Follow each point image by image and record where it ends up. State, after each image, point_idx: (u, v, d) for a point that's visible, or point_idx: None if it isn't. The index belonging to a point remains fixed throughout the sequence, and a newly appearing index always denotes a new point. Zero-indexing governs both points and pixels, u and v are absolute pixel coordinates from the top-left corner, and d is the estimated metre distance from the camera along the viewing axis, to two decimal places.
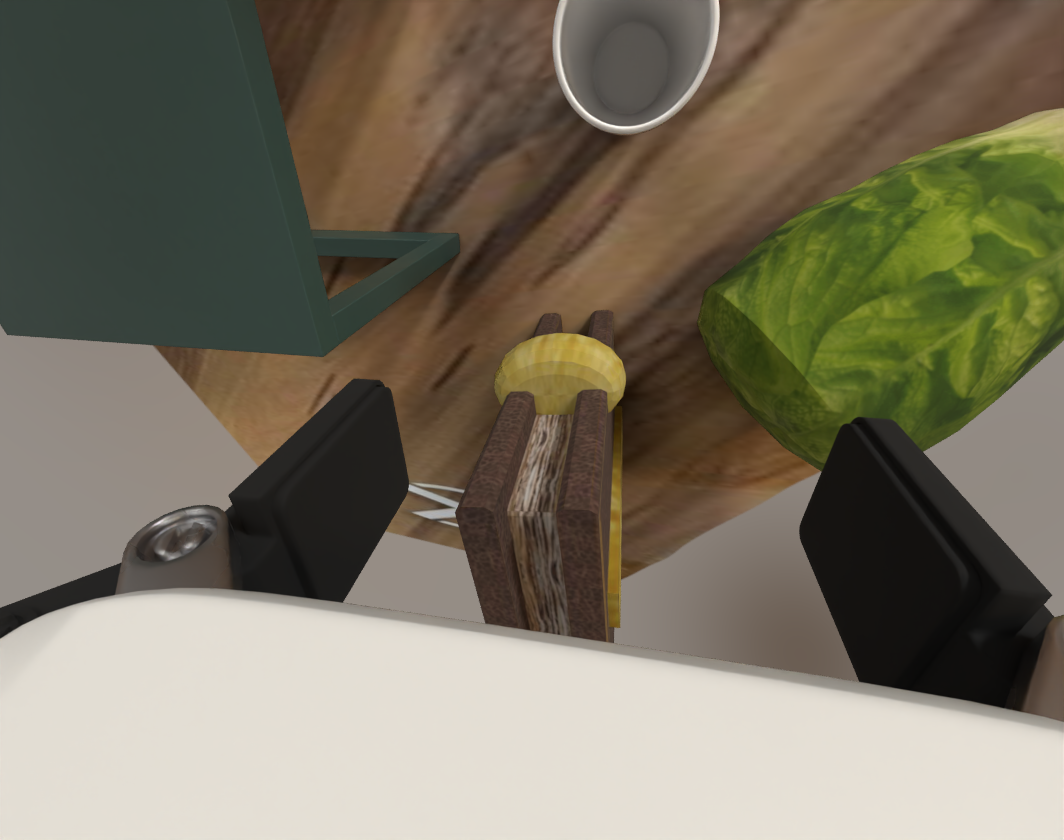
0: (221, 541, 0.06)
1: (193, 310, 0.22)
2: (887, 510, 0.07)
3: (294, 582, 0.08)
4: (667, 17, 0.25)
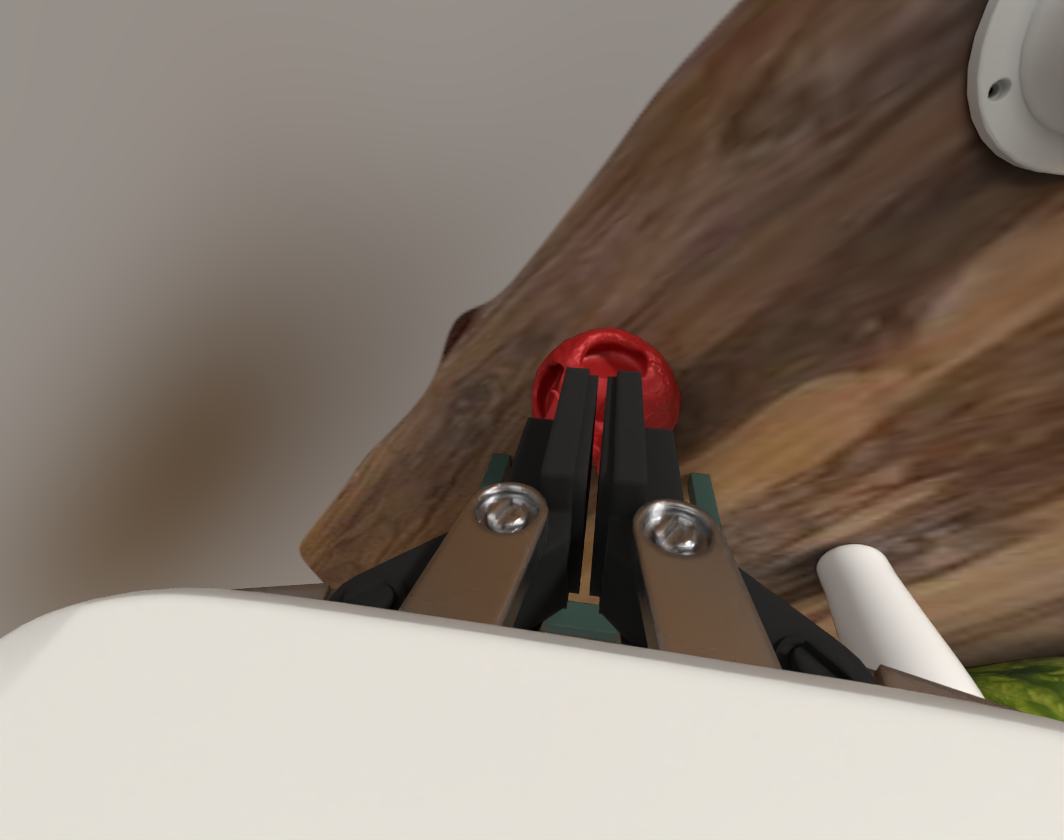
0: (531, 538, 0.06)
1: None
2: (602, 439, 0.09)
3: (568, 557, 0.08)
4: None
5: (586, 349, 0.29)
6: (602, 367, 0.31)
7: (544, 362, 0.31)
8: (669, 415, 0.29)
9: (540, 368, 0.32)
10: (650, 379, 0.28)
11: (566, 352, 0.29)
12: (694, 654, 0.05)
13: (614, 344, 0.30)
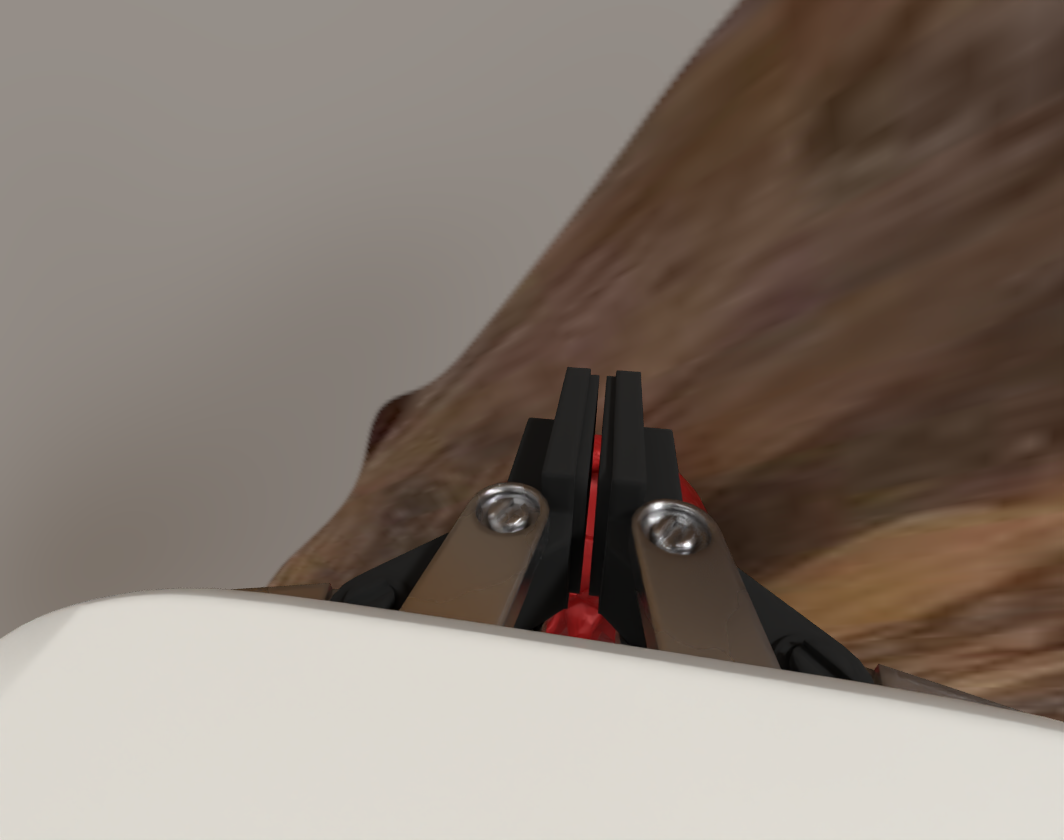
0: (532, 538, 0.06)
1: None
2: None
3: (569, 557, 0.08)
4: None
5: None
6: None
7: None
8: None
9: None
10: None
11: None
12: (692, 654, 0.05)
13: None
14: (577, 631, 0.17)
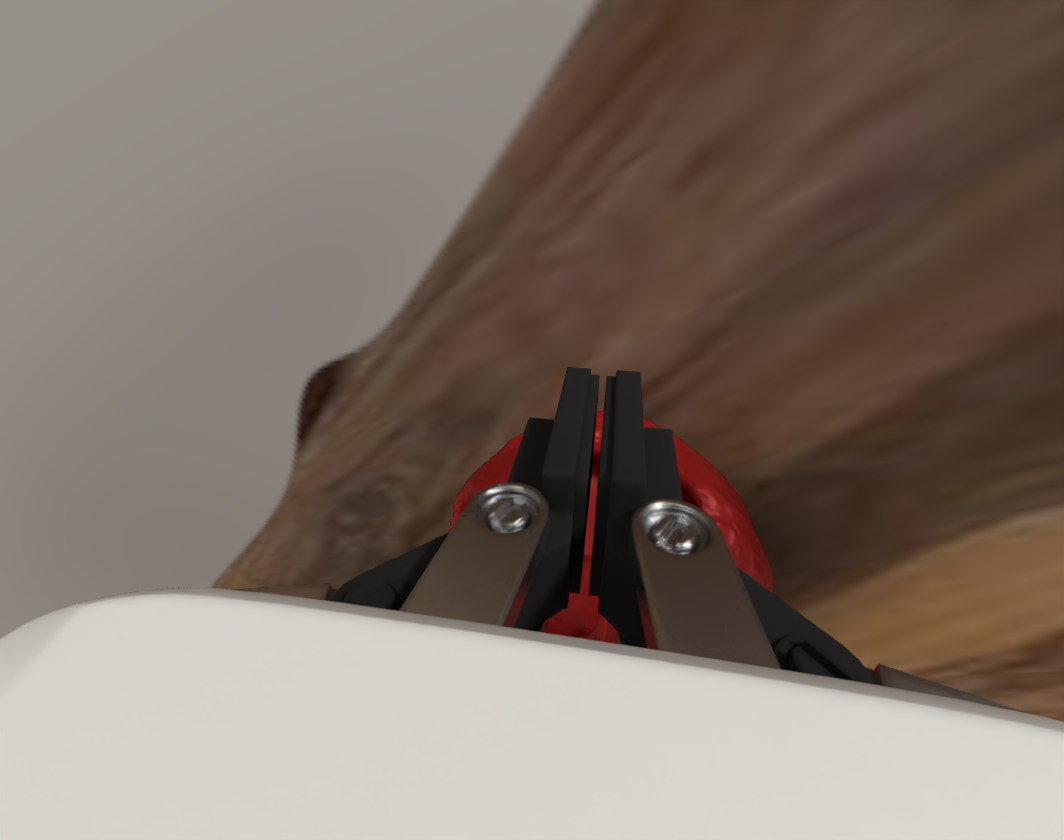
0: (532, 538, 0.06)
1: None
2: None
3: (569, 557, 0.08)
4: None
5: None
6: (593, 504, 0.14)
7: (466, 488, 0.14)
8: None
9: (460, 497, 0.15)
10: None
11: None
12: (692, 654, 0.05)
13: None
14: None
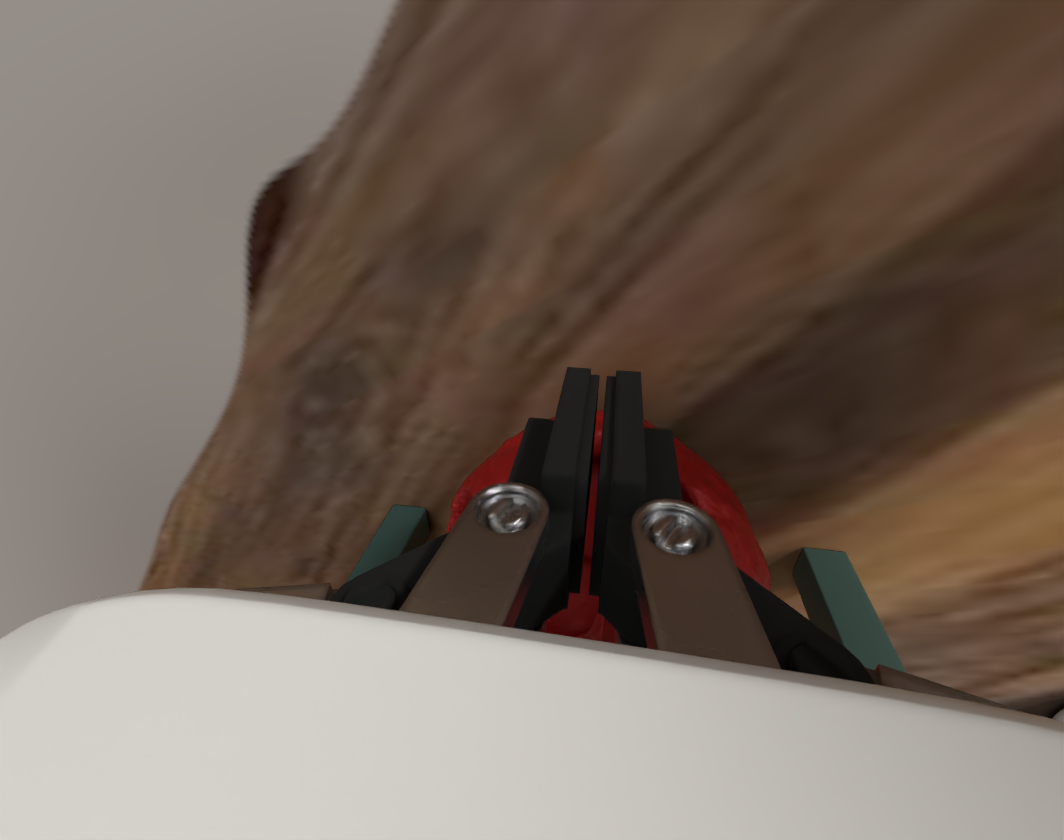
0: (532, 538, 0.06)
1: None
2: None
3: (569, 557, 0.08)
4: None
5: None
6: (590, 504, 0.14)
7: (463, 489, 0.14)
8: None
9: (457, 498, 0.15)
10: None
11: None
12: (692, 654, 0.05)
13: None
14: None
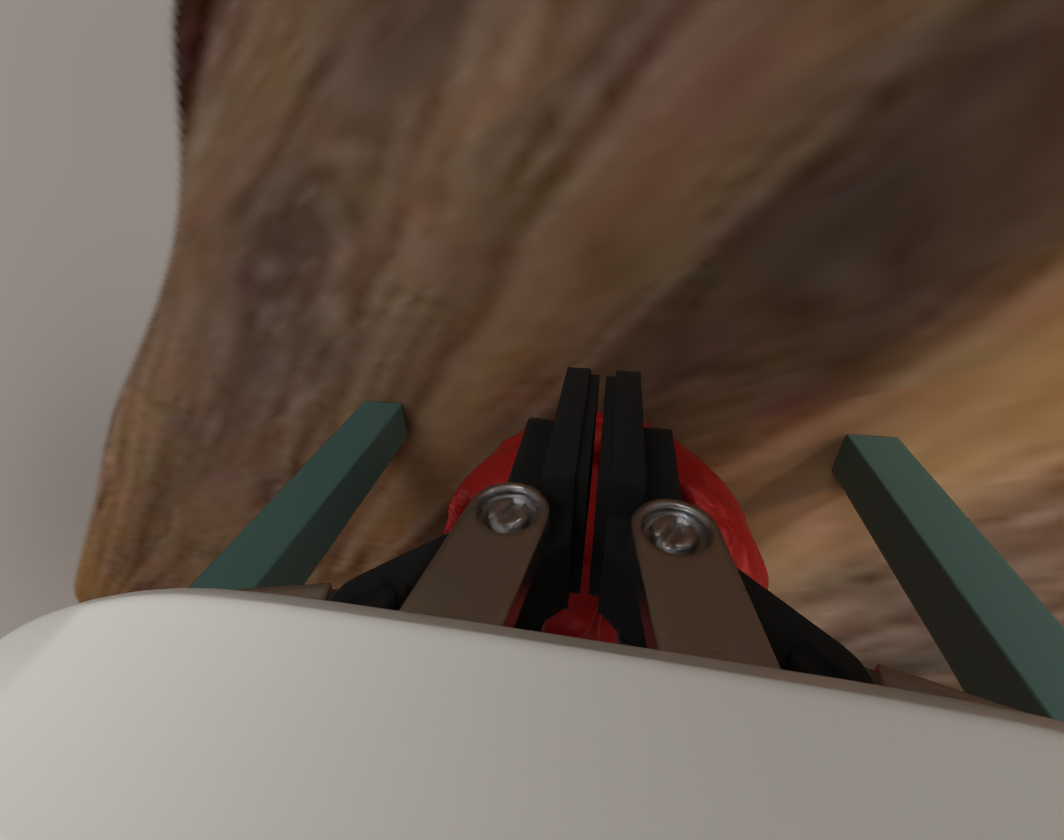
0: (532, 538, 0.06)
1: None
2: (601, 438, 0.09)
3: (569, 557, 0.08)
4: None
5: None
6: None
7: (460, 490, 0.14)
8: None
9: (454, 499, 0.15)
10: None
11: None
12: (692, 654, 0.05)
13: None
14: None
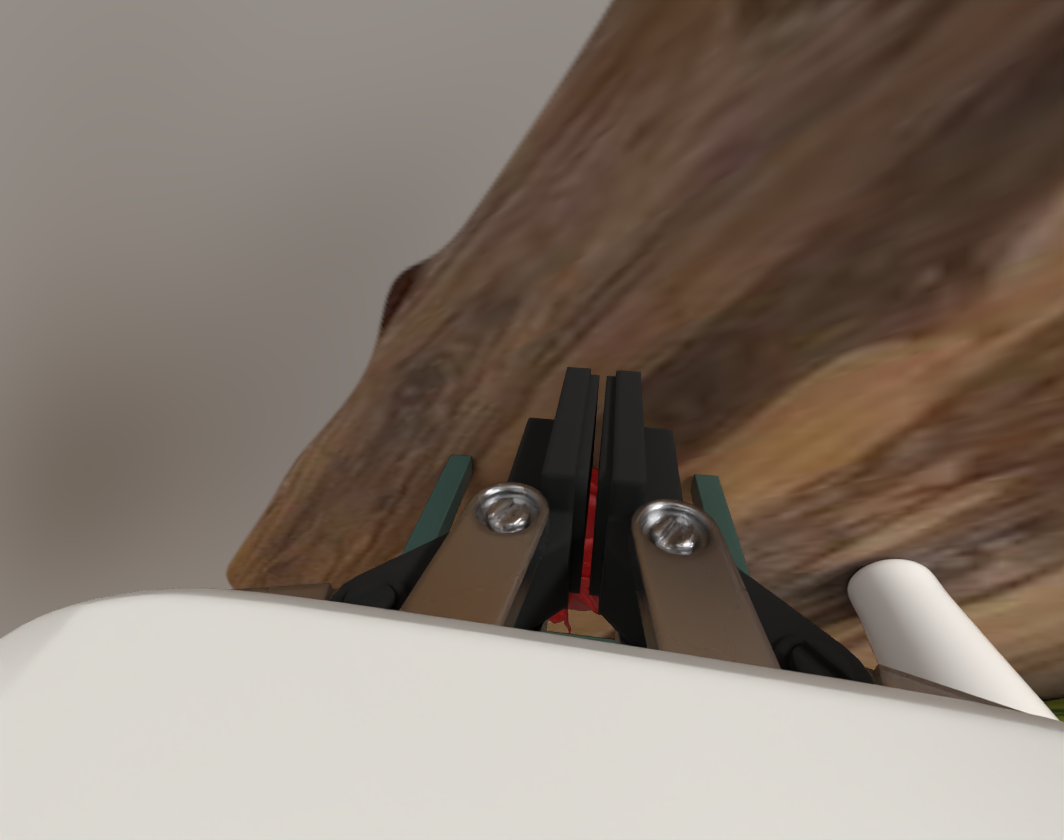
0: (532, 538, 0.06)
1: None
2: None
3: (569, 557, 0.08)
4: None
5: None
6: None
7: None
8: None
9: None
10: None
11: None
12: (692, 654, 0.05)
13: None
14: None
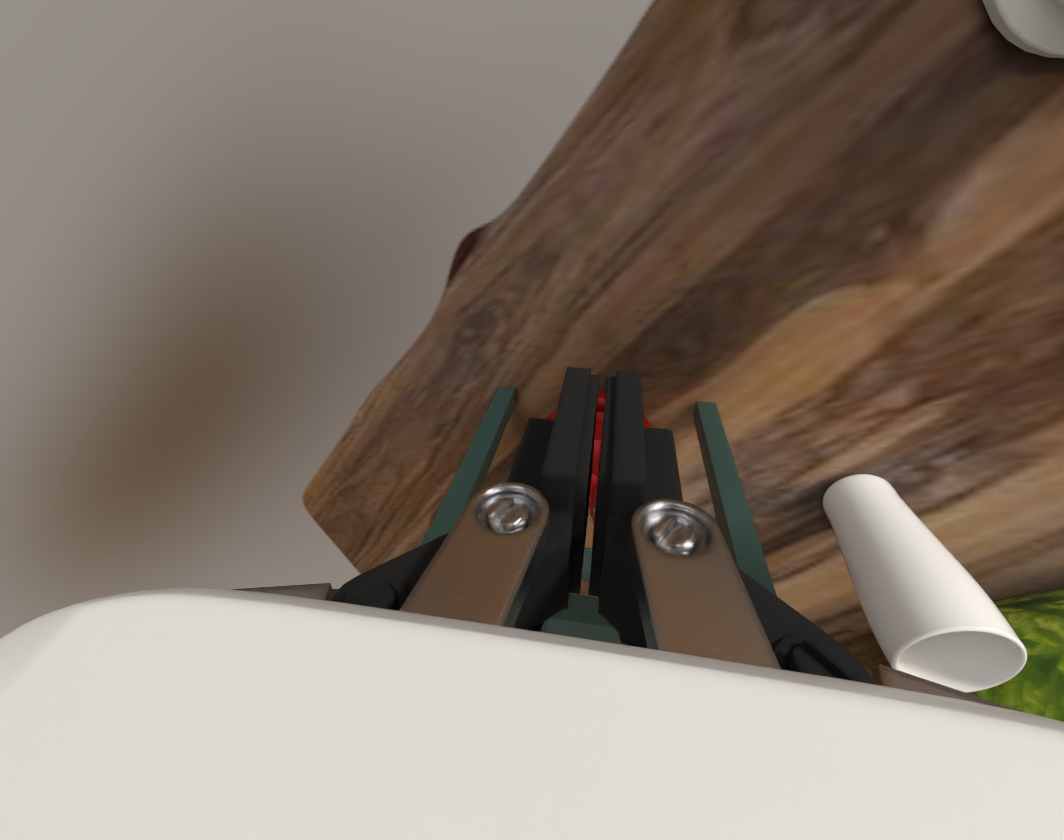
0: (532, 538, 0.06)
1: None
2: None
3: (570, 558, 0.08)
4: None
5: None
6: None
7: None
8: None
9: None
10: None
11: None
12: (692, 654, 0.05)
13: (603, 407, 0.36)
14: None
